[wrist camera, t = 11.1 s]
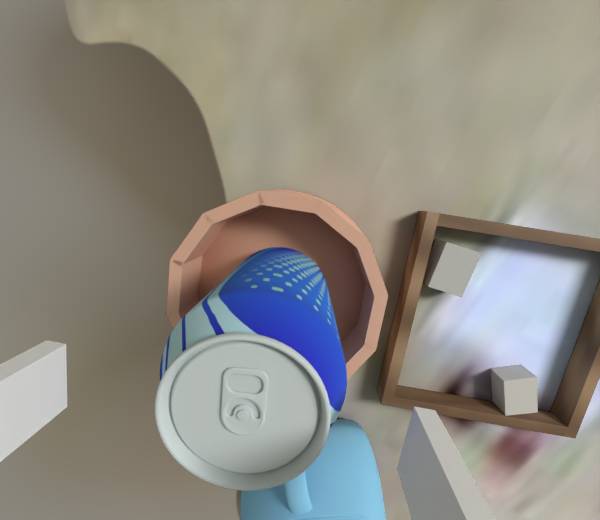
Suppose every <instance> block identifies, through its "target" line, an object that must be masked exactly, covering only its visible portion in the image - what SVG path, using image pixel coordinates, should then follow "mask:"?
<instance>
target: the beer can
mask: <svg viewBox="0 0 600 520" xmlns="http://www.w3.org/2000/svg"><path fill="white" fill-rule="evenodd" d="M346 387H347V370H346V362H345V358H344V354H343V350H342V346H341V341H340V337H339V333H338V329H337V325H336V321H335V316H334V312H333V308H332V304H331V300H330V295H329V291H328V287H327V283H326V280H325V277H324V275H323V273H322V271H321V269H320V268H319V267H318V265H317V264H316V263H315V262H314V261H313V260H312V259H311V258H309V257H308V256H307V255H305V254H303V253H302V252H299V251H297V250H294V249H291V248H286V247H271V248H266V249H263V250H260V251H258V252H256V253H254V254H252V255H251V256H249V257H248V258H247V259H246V260H245V261H244V262H243V263H241V264H240V265H239V266H238V267H237V268H236V269H235V270H234V271H233V272H232V273H231V274H229V275H228V276H227V277H226V278H225V279H224V280H223V281H222V282H221V283H220V284H218V285H217V286H216V287H215V288H214V289H213V290H212V291H211V292H210V293H209V294H208V295H206V296H205V297H204V298H203V299H202V300H201V301H200V302H199V303H198V304H197V305H196V306H194V307H193V308H192V309H191V310H190V311H189V312H188V313H187V314H186V315H185V316H184V317H183V318H182V319H181V320H180V321H179V322H178V324H177V325H176V327H175V328H174V330H173V331H172V333H171V334H170V336H169V338H168V341H167V343H166V345H165V348H164V351H163V355H162V360H161V366H160V383H159V386H158V389H157V393H156V399H155V419H156V424H157V428H158V431H159V434H160V436H161V439H162V441H163V442H164V445H165V446H166V448H167V449H168V451H169V452H170V454H171V455H172V456H173V457H174V458H175V460H176V461H177V462H178V463H179V464H180V465H182V466H183V467H184V468H185V469H186V470H188V471H189V472H190V473H192V474H193V475H195V476H196V477H198V478H200V479H202V480H204V481H206V482H208V483H211V484H213V485H217V486H220V487H223V488H227V489H233V490H244V491H250V490H262V489H268V488H272V487H275V486H278V485H281V484H284V483H286V482H288V481H290V480H292V479H294V478H295V477H297V476H299V475H300V474H301V473H303V472H304V471H305V470H306V469H307V468H309V467H310V466H311V464H312V463H313V462H314V461H315V460H316V458H317V457H318V456H319V454H320V453H321V451H322V449H323V447H324V445H325V443H326V440H327V437H328V434H329V429H330V428H331V427H332V425H333V424H334V422H335V421H336V419H337V417H338V415H339V413H340V410H341V408H342V405H343V402H344V399H345V394H346Z"/></svg>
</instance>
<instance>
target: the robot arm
mask: <svg viewBox="0 0 600 520" xmlns="http://www.w3.org/2000/svg"><path fill="white" fill-rule="evenodd" d="M66 407H67V367H66V344H63V343H58V342H52V341H45V342H43V343H41V344H39V345H37V346H35V347H33V348H31V349H29V350H27V351H25V352H23V353H21V354H19V355H17V356H16V357H14V358H12V359H10V360H8V361H6V362H4V363H2V364H0V462H1V461H2V460H3V459H4V458H6V457H7V456H8V455H9V454H10V453H12V452H13V451H14V450H15V449H17V448H18V447H19V446H20V445H21V444H23V443H24V442H25V441H26V440H28V439H29V438H30V437H31V436H32V435H33V434H35V433H36V432H37V431H38V430H40V429H41V428H42V427H43V426H45V425H46V424H47V423H48V422H49V421H51V419H53V418H54V417H55V416H57V415H58V414H59V413H60V412H61V411H63V410H64V409H65V408H66ZM397 470H398V473H399V477H400V480H401V483H402V487H403V490H404V494H405V497H406V500H407V504H408V507H409V511H410V514H411V518H412V520H496V519H495V517H494V515H493V513H492V512H491V510H490V508H489V506H488V504H487V503H486V501H485V499H484V497H483V495H482V494H481V492H480V490H479V488H478V486H477V485H476V483H475V481H474V479H473V477H472V476H471V474H470V472H469V470H468V468H467V466H466V465H465V463H464V461H463V459H462V457H461V456H460V454H459V452H458V450H457V448H456V447H455V445H454V443H453V441H452V439H451V438H450V436H449V434H448V432H447V430H446V429H445V427H444V425H443V423H442V421H441V420H440V418H439V416H438V414H437V412H436V411H435V410H431V409H425V408H420V407H414V409H413V413H412V416H411V420H410V424H409V427H408V431H407V434H406V438H405V442H404V445H403V449H402V452H401V456H400V460H399V463H398V467H397Z"/></svg>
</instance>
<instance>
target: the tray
mask: <svg viewBox="0 0 600 520" xmlns="http://www.w3.org/2000/svg"><path fill="white" fill-rule="evenodd" d="M436 226H442V227H448V228H454V229H461V230H467V231H473V232H479V233H485V234H492V235H498V236H504V237H510V238H517V239H523V240H529V241H535V242H542V243H548V244H554V245H560V246H566V247H573V248H579V249H585V250H591V251H598V252H600V239H597V238H590V237H584V236H578V235H572V234H565V233H559V232H553V231H546V230H540V229H534V228H528V227H521V226H515V225H509V224H503V223H496V222H490V221H484V220H477V219H471V218H465V217H459V216H452V215H446V214H440V213H434V212H427V211H419V213H418V217H417V221H416V225H415V230H414V234H413V238H412V242H411V247H410V251H409V255H408V260H407V264H406V268H405V272H404V277H403V281H402V285H401V289H400V294H399V298H398V302H397V306H396V311H395V315H394V319H393V323H392V328H391V332H390V336H389V341H388V345H387V349H386V353H385V358H384V362H383V366H382V370H381V375H380V379H379V383H378V387H377V393H378V396H379V399H380V402H381V404H383V405H388V406H394V407H400V408H406V409H411V410H413V409H414V407H420V408H425V409H431V410H435V411H436V412H437V414H440V415H445V416H451V417H457V418H462V419H468V420H474V421H479V422H485V423H491V424H497V425H502V426H508V427H514V428H519V429H525V430H531V431H536V432H542V433H548V434H553V435H559V436H565V437H570V438H576V435H577V433H578V430H579V428H580V425H581V423H582V420H583V418H584V415H585V413H586V410H587V408H588V405H589V403H590V400H591V398H592V395H593V393H594V390H595V388H596V385H597V383H598V380H599V378H600V280H599V283H598V286H597V288H596V291H595V294H594V296H593V299H592V302H591V304H590V307H589V310H588V312H587V315H586V318H585V321H584V323H583V326H582V329H581V331H580V334H579V337H578V339H577V342H576V345H575V347H574V350H573V353H572V355H571V358H570V361H569V363H568V366H567V369H566V372H565V374H564V377H563V380H562V382H561V385H560V388H559V390H558V393H557V396H556V398H555V401H554V404H553V406H552V409H551V412H549V411H543V410H538V412H536V413H527V414H517V415H508V416H505V414H504V413H503V412H502V411H501V410H500V409H499V408H498V407H497V405H496V404H495V403H494V402H492V401H486V400H480V399H474V398H469V397H463V396H457V395H451V394H446V393H440V392H434V391H428V390H423V389H417V388H411V387H405V386H400V385H397V383H398V379H399V375H400V371H401V367H402V363H403V359H404V355H405V351H406V347H407V343H408V339H409V335H410V331H411V327H412V323H413V319H414V315H415V311H416V307H417V303H418V299H419V295H420V291H421V287H422V283H423V279H424V275H425V271H426V267H427V263H428V259H429V255H430V251H431V246H432V242H433V238H434V234H435V230H436Z"/></svg>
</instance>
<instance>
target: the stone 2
mask: <svg viewBox="0 0 600 520" xmlns="http://www.w3.org/2000/svg"><path fill="white" fill-rule="evenodd" d="M491 383H492V399H493V402H494V403H495V404H496V405H497V407H498V408H499V409H500V410H501V411H502V412H503V413H504V414H505V416H508V415H517V414H527V413H536V412H538V404H537V377H536V376H535V375H534V374H532V373H531V372H530V371H528V370H527V369H526V368H525V367H523V366H522V365H513V366H505V367H497V368H491Z"/></svg>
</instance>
